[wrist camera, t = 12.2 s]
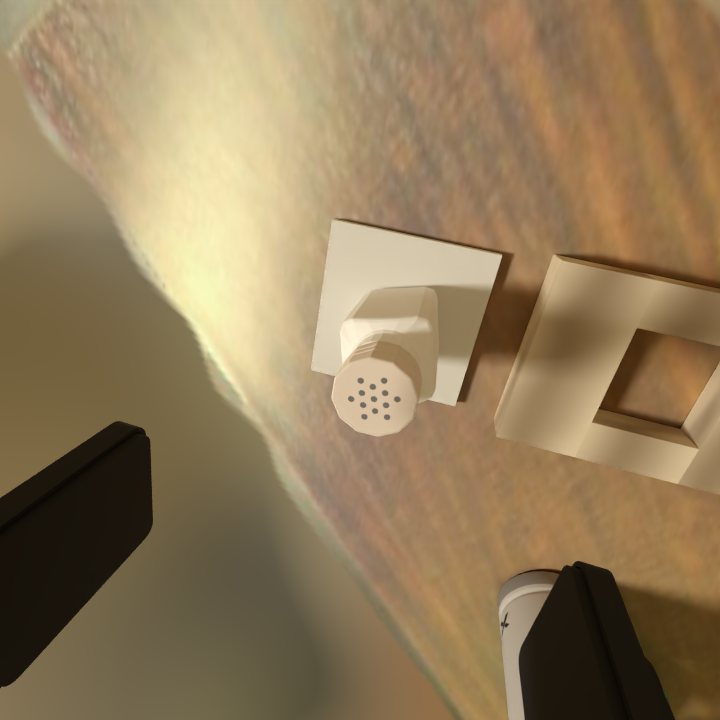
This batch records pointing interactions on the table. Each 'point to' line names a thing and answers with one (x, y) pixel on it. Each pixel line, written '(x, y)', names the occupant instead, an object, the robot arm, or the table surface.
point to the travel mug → (519, 626)
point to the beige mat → (405, 270)
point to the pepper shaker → (387, 359)
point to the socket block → (610, 372)
